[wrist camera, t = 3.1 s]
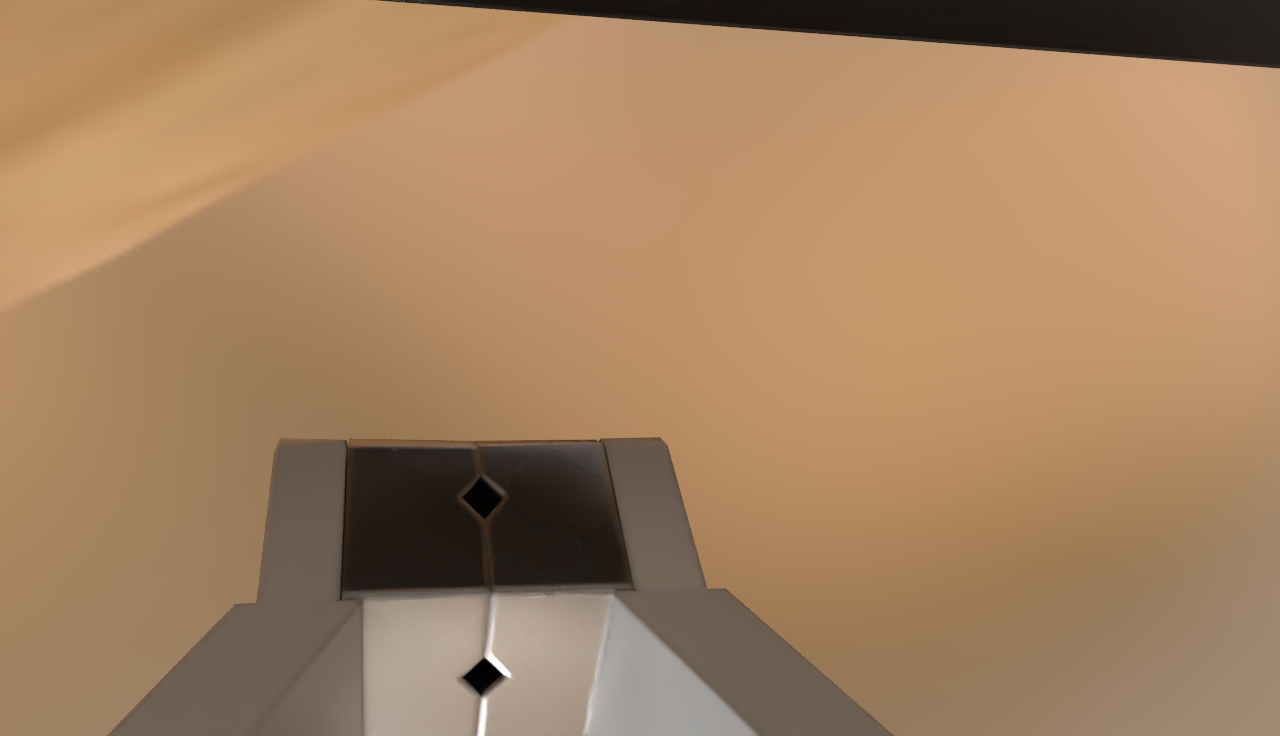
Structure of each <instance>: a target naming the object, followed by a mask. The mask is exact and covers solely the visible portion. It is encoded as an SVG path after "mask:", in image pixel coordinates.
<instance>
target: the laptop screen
mask: <svg viewBox="0 0 1280 736" xmlns="http://www.w3.org/2000/svg"><path fill="white" fill-rule="evenodd" d="M380 1H394V2H407V3H420V4H433V5H447V6H460V7H473V8H487V9H500V10H513V11H526V12H540V13H553V14H566V15H579V16H593V17H606V18H621V19H632V20H646V21H659V22H672V23H685V24H701V25H712V26H726V27H739V28H752V29H765V30H778V31H792V32H805V33H818V34H831V35H845V36H858V37H871V38H884V39H898V40H911V41H925V42H937V43H951V44H964V45H977V46H992V47H1004V48H1017V49H1030V50H1044V51H1057V52H1070V53H1084V54H1097V55H1110V56H1123V57H1136V58H1150V59H1163V60H1176V61H1177V60H1178V61H1189V62H1203V63H1217V64H1230V65H1243V66H1256V67H1269V68H1280V0H380Z"/></svg>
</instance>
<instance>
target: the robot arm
mask: <svg viewBox="0 0 1280 736" xmlns="http://www.w3.org/2000/svg"><path fill="white" fill-rule="evenodd" d="M107 736H894V735H893V734H891V733H890V732H889V731H888V730H887V729H886V728H885V727H883V726H882V725H881V724H880V723H879V722H878V721H877V720H875V719H874V718H873V717H872V716H871V715H870V714H868V713H867V712H866V711H865V710H864V709H863V708H862V707H860V706H859V705H858V704H857V703H856V702H855V701H854V700H852V699H851V698H850V697H849V696H848V695H846V693H844V692H843V691H842V690H841V689H840V688H839V687H837V686H836V685H835V684H834V683H833V682H832V681H831V680H829V679H828V678H827V677H826V676H825V675H824V674H823V673H822V672H820V671H819V670H818V669H817V668H816V667H815V666H814V665H812V664H811V663H810V662H809V661H808V660H807V659H806V658H804V657H803V656H802V655H801V654H800V653H799V652H798V651H796V650H795V649H794V648H793V647H792V646H791V645H790V644H788V643H787V642H786V641H785V640H784V639H783V638H782V637H780V636H779V635H778V634H777V633H776V632H775V631H774V630H772V629H771V628H770V627H769V626H768V625H767V624H765V623H764V622H763V621H762V620H761V619H760V618H759V617H757V616H756V615H755V614H754V613H753V612H752V611H751V610H750V609H748V608H747V607H746V606H745V605H744V604H743V603H742V602H740V601H739V600H738V599H737V598H736V597H735V596H734V595H732V594H731V593H730V592H729V591H728V590H727V589H707V586H706V582H705V579H704V575H703V572H702V568H701V564H700V561H699V557H698V553H697V550H696V546H695V543H694V539H693V536H692V532H691V528H690V525H689V521H688V517H687V514H686V511H685V507H684V503H683V500H682V496H681V492H680V489H679V485H678V482H677V478H676V474H675V471H674V467H673V463H672V460H671V456H670V453H669V449H668V446H667V444H666V443H665V442H664V441H663V440H662V439H661V438H660V437H659V438H614V439H613V438H612V439H611V438H610V439H600V440H599V441H597V440H522V441H520V440H519V441H445V440H444V441H443V440H393V439H388V440H387V439H349V443H348V444H347V441H346V440H327V439H280V440H279V442H278V445H277V447H276V449H275V452H274V459H273V467H272V476H271V485H270V492H269V501H268V510H267V518H266V526H265V535H264V543H263V552H262V560H261V569H260V577H259V586H258V594H257V602H256V603H248V604H235V605H234V606H233V607H232V608H231V609H230V610H229V611H228V612H227V613H226V614H225V615H224V616H223V617H222V618H221V619H220V620H219V621H218V622H217V623H216V624H215V625H214V626H213V627H212V629H210V630H209V632H207V633H206V634H205V636H204V637H203V638H202V639H201V640H200V641H199V642H198V643H197V644H196V645H195V646H194V647H193V648H192V649H191V650H190V651H189V652H188V653H187V654H186V655H185V656H184V657H183V658H182V659H181V660H180V661H179V662H178V663H177V664H176V665H175V666H174V667H173V668H172V669H171V670H170V671H169V673H168V674H167V675H166V676H165V677H164V678H163V679H162V680H161V681H160V682H159V683H158V684H157V685H156V686H155V687H154V688H153V689H152V690H151V691H150V692H149V693H148V694H147V695H146V696H145V697H144V698H143V699H142V700H141V701H140V702H139V703H138V704H137V705H136V706H135V708H134V709H133V710H132V711H131V712H130V713H129V714H128V715H127V716H126V717H125V718H124V719H123V720H122V721H121V722H120V723H119V724H118V725H117V726H116V727H115V728H114V729H113V730H112V731H111V732H110V733H109V734H108V735H107Z"/></svg>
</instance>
